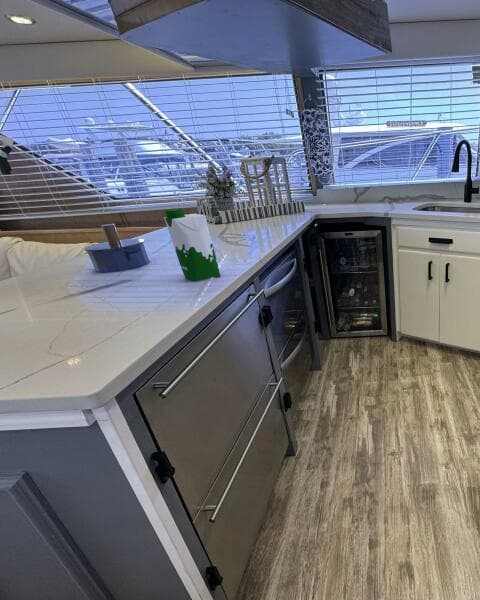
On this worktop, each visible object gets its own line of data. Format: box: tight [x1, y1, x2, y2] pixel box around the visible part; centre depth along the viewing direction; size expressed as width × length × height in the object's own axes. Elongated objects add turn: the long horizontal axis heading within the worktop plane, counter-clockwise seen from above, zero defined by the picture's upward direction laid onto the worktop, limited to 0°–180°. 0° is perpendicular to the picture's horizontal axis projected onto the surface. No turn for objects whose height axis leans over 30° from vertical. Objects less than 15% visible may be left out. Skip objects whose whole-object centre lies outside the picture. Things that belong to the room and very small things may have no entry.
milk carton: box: [163, 208, 221, 283], centre depth 91 cm, size 9×9×20 cm
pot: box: [87, 243, 151, 274], centre depth 103 cm, size 14×19×8 cm
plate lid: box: [84, 223, 145, 253], centre depth 100 cm, size 15×15×7 cm
